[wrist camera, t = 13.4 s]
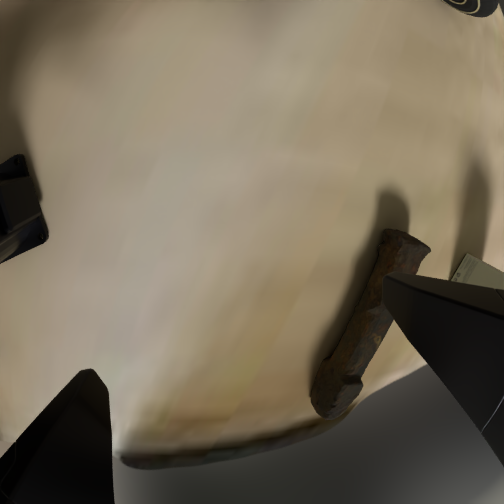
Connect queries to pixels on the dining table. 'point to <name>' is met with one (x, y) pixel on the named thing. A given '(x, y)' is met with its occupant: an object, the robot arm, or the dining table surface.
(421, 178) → the dining table surface
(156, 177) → the dining table surface
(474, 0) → the headphones
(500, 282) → the skincare box
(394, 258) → the hand tool
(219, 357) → the dining table surface
